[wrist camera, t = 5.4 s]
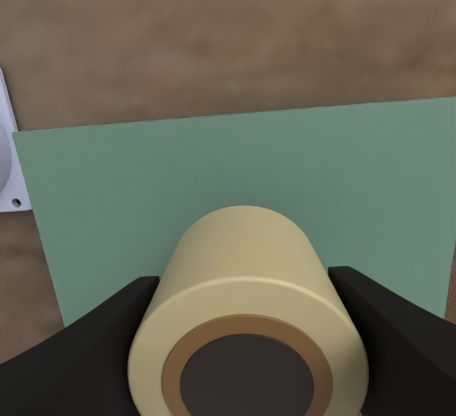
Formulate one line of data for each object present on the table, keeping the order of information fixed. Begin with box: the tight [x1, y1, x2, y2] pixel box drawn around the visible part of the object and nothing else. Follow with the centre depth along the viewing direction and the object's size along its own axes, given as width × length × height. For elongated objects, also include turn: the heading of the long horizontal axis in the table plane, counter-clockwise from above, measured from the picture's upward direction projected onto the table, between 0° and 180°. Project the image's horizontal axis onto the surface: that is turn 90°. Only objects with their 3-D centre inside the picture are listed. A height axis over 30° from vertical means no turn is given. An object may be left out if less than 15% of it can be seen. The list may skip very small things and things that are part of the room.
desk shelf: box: [12, 97, 456, 328], centre depth 16 cm, size 18×11×5 cm, turn 94°
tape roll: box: [127, 206, 369, 416], centre depth 9 cm, size 5×5×5 cm
